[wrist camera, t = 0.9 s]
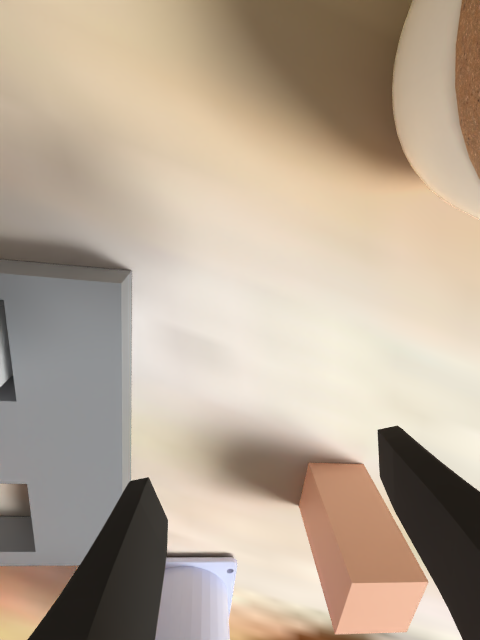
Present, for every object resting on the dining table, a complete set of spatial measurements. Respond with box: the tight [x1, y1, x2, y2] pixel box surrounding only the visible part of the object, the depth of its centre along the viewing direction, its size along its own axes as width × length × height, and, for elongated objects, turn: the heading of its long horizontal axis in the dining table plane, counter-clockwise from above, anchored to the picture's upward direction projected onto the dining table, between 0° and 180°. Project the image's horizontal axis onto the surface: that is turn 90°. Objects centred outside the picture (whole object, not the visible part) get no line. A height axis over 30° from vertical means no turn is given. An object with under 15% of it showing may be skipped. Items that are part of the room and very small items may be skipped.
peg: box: [299, 463, 428, 634], centre depth 22 cm, size 4×4×8 cm
